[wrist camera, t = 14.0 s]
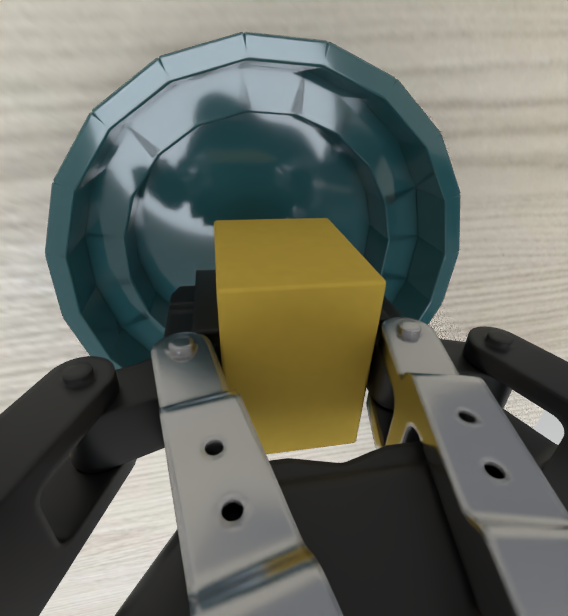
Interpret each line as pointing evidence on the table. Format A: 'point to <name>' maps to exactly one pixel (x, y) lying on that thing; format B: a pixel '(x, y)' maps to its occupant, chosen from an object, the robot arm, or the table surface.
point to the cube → (296, 328)
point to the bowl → (244, 180)
